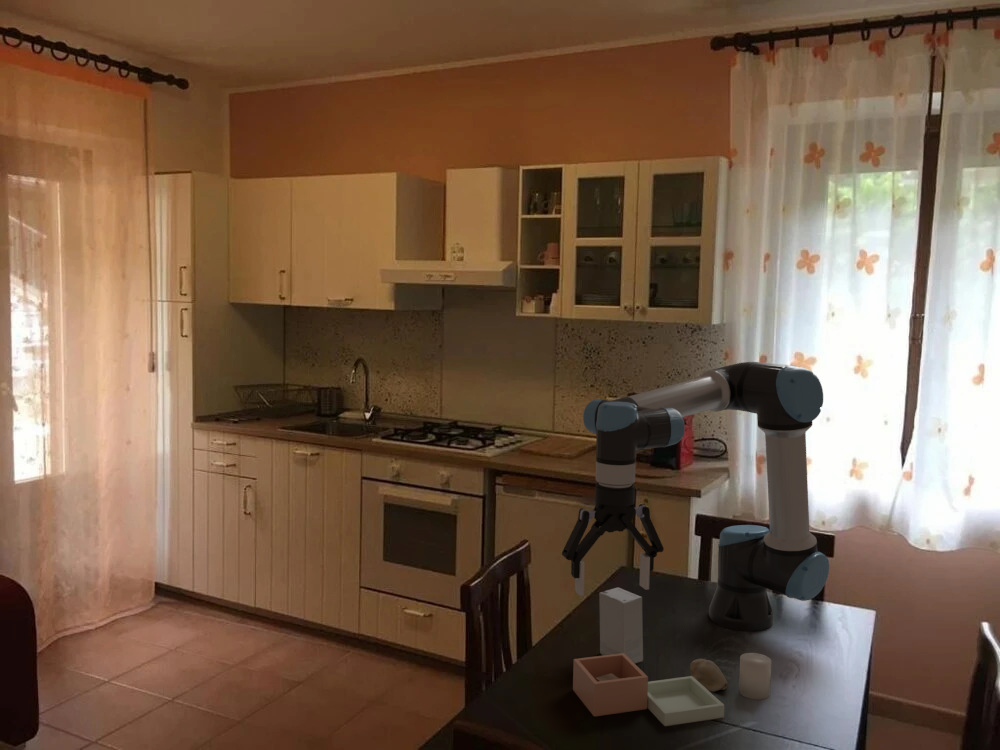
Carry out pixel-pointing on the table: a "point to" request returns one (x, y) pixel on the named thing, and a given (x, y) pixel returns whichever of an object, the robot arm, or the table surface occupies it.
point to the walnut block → (606, 677)
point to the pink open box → (610, 684)
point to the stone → (708, 675)
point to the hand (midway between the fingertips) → (612, 590)
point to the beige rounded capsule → (754, 676)
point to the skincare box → (621, 624)
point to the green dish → (682, 701)
